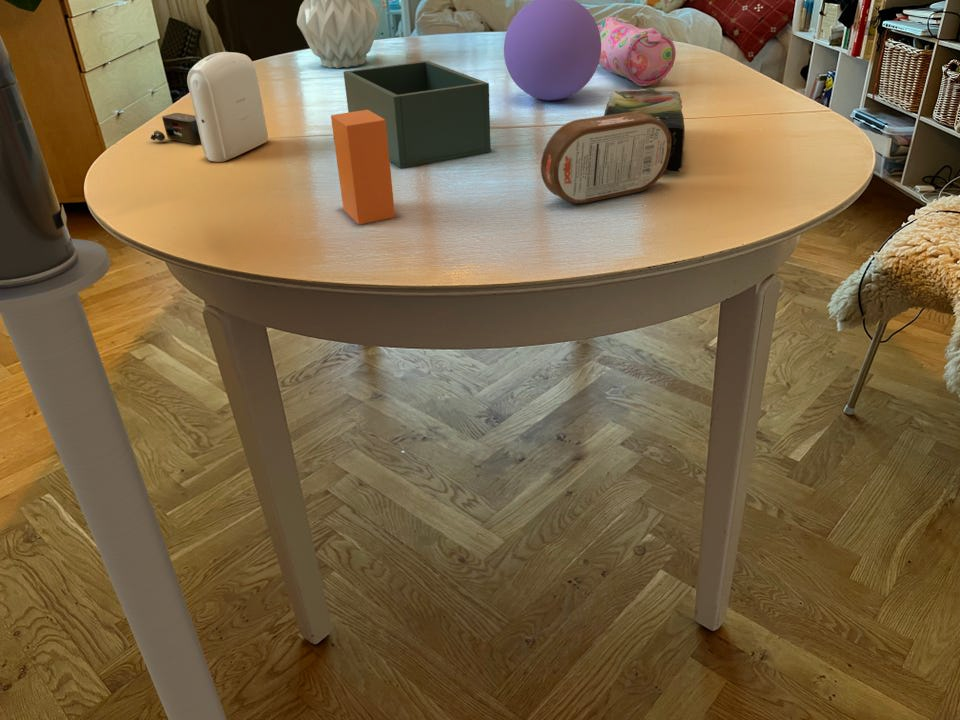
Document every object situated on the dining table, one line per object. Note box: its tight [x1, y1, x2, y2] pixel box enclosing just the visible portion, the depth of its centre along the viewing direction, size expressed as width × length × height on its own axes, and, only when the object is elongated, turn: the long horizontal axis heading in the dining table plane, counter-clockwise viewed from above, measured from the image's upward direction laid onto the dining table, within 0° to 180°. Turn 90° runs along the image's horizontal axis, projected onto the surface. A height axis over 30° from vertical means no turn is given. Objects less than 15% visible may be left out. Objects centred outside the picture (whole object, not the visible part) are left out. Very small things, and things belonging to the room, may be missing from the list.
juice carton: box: [603, 88, 686, 172], centre depth 94 cm, size 20×10×6 cm, turn 169°
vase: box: [296, 0, 381, 69], centre depth 148 cm, size 16×16×18 cm
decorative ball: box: [503, 0, 601, 101], centre depth 117 cm, size 15×15×15 cm
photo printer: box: [186, 51, 269, 163], centre depth 99 cm, size 10×4×12 cm, turn 158°
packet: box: [330, 110, 396, 225], centre depth 77 cm, size 4×5×10 cm
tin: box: [540, 111, 672, 205], centre depth 80 cm, size 15×3×8 cm, turn 115°
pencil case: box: [597, 14, 677, 87], centre depth 132 cm, size 21×9×9 cm, turn 11°
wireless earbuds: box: [150, 112, 202, 145], centre depth 106 cm, size 5×7×3 cm, turn 56°
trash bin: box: [343, 60, 492, 169], centre depth 100 cm, size 13×19×8 cm
